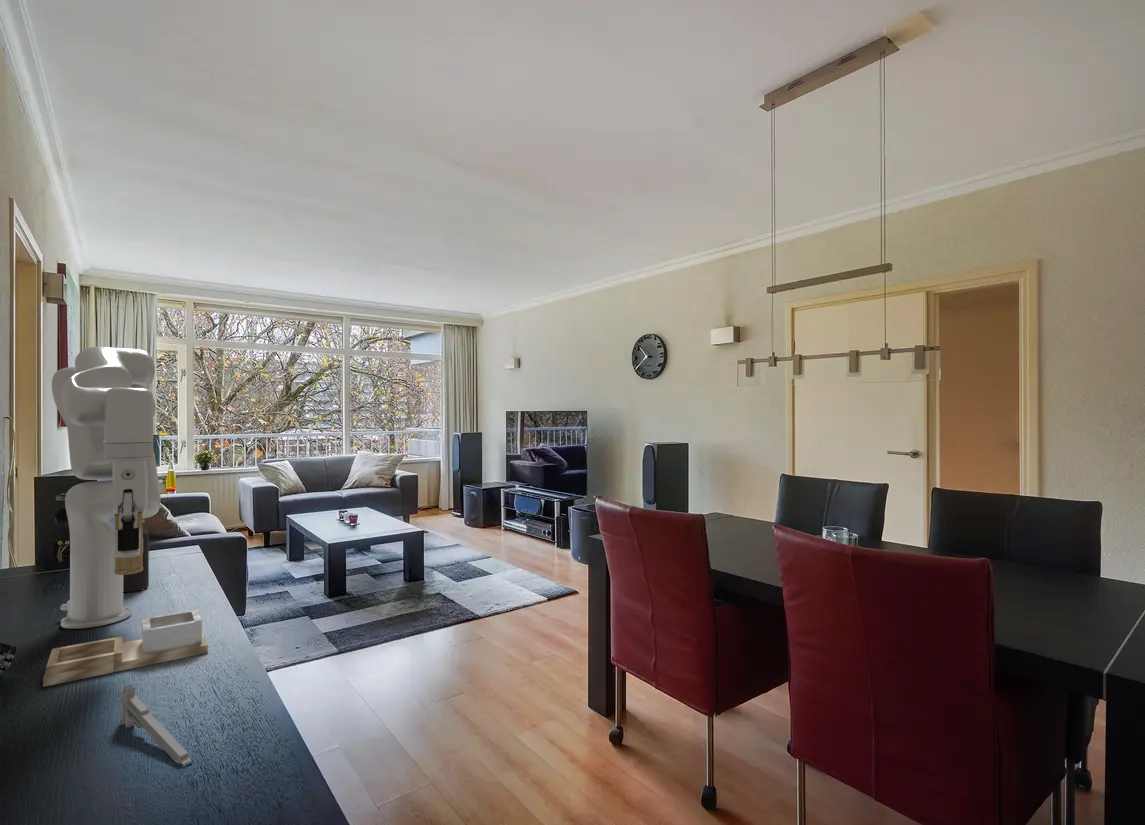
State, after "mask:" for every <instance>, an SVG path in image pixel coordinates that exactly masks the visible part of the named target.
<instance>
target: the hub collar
mask: <svg viewBox="0 0 1145 825" xmlns="http://www.w3.org/2000/svg"><path fill="white" fill-rule="evenodd" d="M202 631H203V619H202V616H201V614H200V611H199V609H195V610H192V609H191V610H190V609H189V610H184V611H178V612H172V613H171V612H170V613H166V614H159V615H155V616H149V617H147V618H142V619H141V639H142V649H143V655H144V654H149V653H151V654H154V653H159V652H165V651H170V650H175V649H180V648H185V647H190V646H195V644H200V643H202Z"/></svg>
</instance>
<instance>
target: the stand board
mask: <svg viewBox="0 0 1145 825" xmlns="http://www.w3.org/2000/svg"><path fill="white" fill-rule="evenodd" d="M208 646H209V645H208V642H207V640H206V637H205V634H204V631H203V630H202V643H200V644H195V646H190V647H185V648H180V649H175V650H170V651H165V652H159V653H154V654H151V653H149V654H144V655H143V649H142V638H141V639H136V640H130V641H125V642H123V635H121V636H117V637H112V638H111V637H110V638H105V639H100V640H99V639H98V640H93V641H90V642H89V641H88V642H83V643H78V644H72V645H67V646H60V647H54V648H52V649H51V651H50V654H49V658H48V660H47V663H46V666H45V671H44V675H43V678H42V688H43V687H49V686H54V685H59V684H64V683H69V682H73V681H78V680H82V679H88V678H93V677H99V676H103V675H107V674H111V673H116V672H121V671H126V670H131V669H136V668H141V667H147V666H150V665H155V664H159V663H166V662H169V661H170V662H171V661H174V660H179V659H184V658H185V659H186V658H189V657H193V656H199V655H203V654H208V652H209V649H208Z"/></svg>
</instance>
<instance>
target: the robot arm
mask: <svg viewBox="0 0 1145 825" xmlns="http://www.w3.org/2000/svg"><path fill="white" fill-rule="evenodd" d="M155 365H156V364H155V362H154V359H153V357H152V356H151V355H150V353H148V352H147V351H146V350H142V349H139V348H126V347H114V346H113V347H111V346H91V347H87V348H85V349H82V350H81V351H80V352H79V353H78V354H77V355H76V357H75V360H74V366H68V367H64V368H63V367H62V368H61V369H58V370H56V372H55V373H54V374H53V375H52V379H51V393H52V397H53V401H54V403H55V406H56V408H57V411H58V412H59V414H60V416H61V418H62V420H63V421H64V424H65V426H66V429H67V439H68V441H67V442H68V451H69V462H70V468H71V471H72V474H73V475H74V476H75V477H76V478H78V479H80V480H88V481H86V482H82V483H77V484H76V485H74V486H72V487H70V489H68V490H67V491H66V494H65V498H64V504H65V511H66V516H67V521H68V522H67V523H68V529H69V547H70V548H69V551H70V552H69V562H70V563H69V599H68V600H67V601H66V603H63V604H61V605H60V606H59V607H60V610H61V611H67V616H65V617H63V618H62V619H61V620H60V627H61V628H63V629H71V630H73V629H75V630H78V629H89V628H90V629H91V628H95V627H96V628H97V627H102V626H106V625H111V624H115V623H117V622H121V621H123V620H125V619H127V618H129V617H130V616H131V615H132V611H133V610H132V608H131V607H128V606H124V593H123V575H117V574H115V573H114V571H115V556H114V547H115V538H114V530H115V528H113V527H112V526H111V525H110V523H115V516H114V514H115V513H117V514H119V530H118V551H119V552H121V551H130V550H137V549H139V528H137V517H138V510H140V509H142V512H143V513H142V518H145V519H146V518H152V517H153V516H155V515H157V513H159V510H160V508H161V497H162V496H161V490H160V488H161V487H160V482H159V475H158V468H157V462H156V455H155V451H154V417H155V414H156V407H157V406H156V401H155V398H154V394H153V392H152V390H149V388H150V386H151V384H152V383H153V381H154V378H155V374H156V368H155V367H156V366H155ZM89 480H91V481H89ZM92 480H93V481H92ZM118 506H119V509H118ZM132 509H135V512H132ZM114 510H115V513H114ZM122 510H123V513H122ZM118 511H119V513H118ZM133 515H134V516H133Z"/></svg>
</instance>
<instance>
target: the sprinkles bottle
mask: <svg viewBox="0 0 1145 825" xmlns="http://www.w3.org/2000/svg"><path fill="white" fill-rule="evenodd" d="M118 509H119V506H118ZM132 512H135V509H132ZM114 513H115V510H114ZM118 513H119V511H118ZM122 513H123V510H122ZM142 513H143V512H142V509H140V510H138V517H137V528H139V549H137V550H130V551H121V552H119V551H118V530H119V514H117V513H115V514H114V516H115V522H114V538H115V547H114V556H115V571H114V573H115V574H117V575H129V574H134V573H138V572H141V571H142V570H143V559H142V558H143V555H142V554H143V537H142V535H143V533H142V532H143V529H142V528H144V526H143V527H142ZM133 516H134V515H133Z"/></svg>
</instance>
